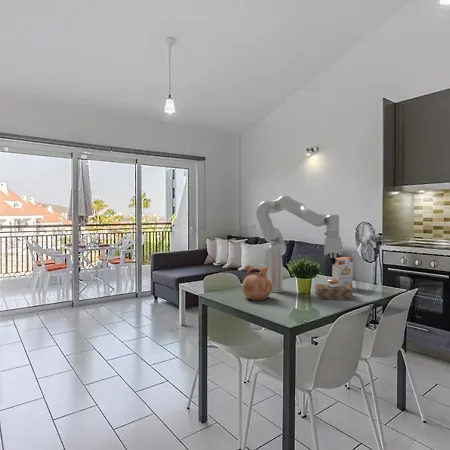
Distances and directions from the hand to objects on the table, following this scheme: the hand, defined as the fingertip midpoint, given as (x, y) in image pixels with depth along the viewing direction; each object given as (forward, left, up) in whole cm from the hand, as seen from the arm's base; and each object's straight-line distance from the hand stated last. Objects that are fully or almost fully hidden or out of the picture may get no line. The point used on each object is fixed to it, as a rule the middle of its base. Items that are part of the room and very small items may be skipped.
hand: (333, 264), depth 217 cm
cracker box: (+10, +23, -20) cm, 32 cm away
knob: (0, -1, -16) cm, 16 cm away
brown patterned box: (0, -1, -20) cm, 20 cm away
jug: (-46, -11, -20) cm, 51 cm away
